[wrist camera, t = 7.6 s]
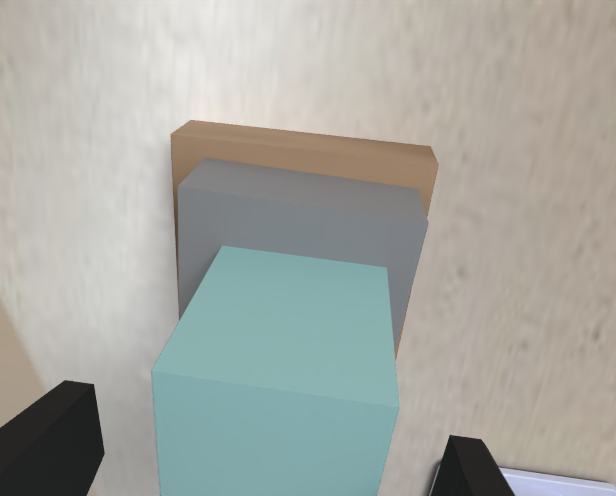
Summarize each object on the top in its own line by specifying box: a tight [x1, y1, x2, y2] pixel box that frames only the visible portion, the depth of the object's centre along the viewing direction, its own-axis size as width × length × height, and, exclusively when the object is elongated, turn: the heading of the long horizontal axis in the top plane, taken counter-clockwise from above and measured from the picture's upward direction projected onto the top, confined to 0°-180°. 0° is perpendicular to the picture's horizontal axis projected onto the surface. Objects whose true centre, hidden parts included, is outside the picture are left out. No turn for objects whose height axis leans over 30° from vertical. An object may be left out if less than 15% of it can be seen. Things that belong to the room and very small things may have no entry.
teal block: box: [151, 246, 399, 496], centre depth 12 cm, size 4×4×5 cm
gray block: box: [178, 158, 428, 352], centre depth 15 cm, size 6×6×2 cm
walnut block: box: [171, 120, 439, 361], centre depth 17 cm, size 8×8×2 cm
